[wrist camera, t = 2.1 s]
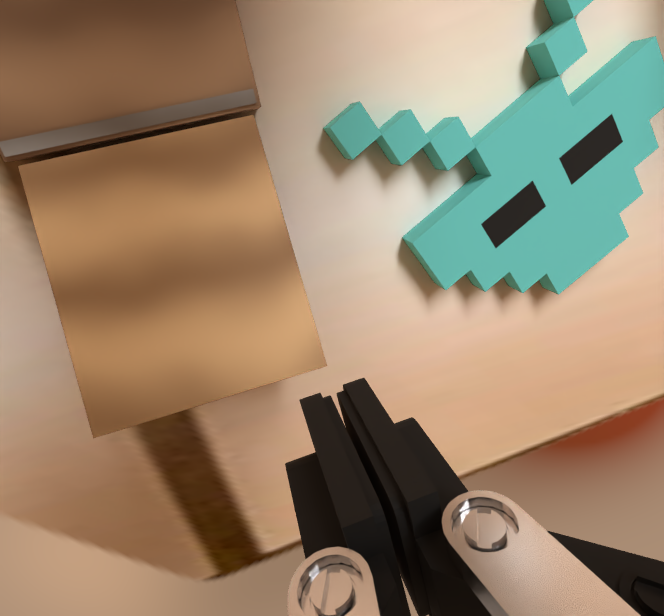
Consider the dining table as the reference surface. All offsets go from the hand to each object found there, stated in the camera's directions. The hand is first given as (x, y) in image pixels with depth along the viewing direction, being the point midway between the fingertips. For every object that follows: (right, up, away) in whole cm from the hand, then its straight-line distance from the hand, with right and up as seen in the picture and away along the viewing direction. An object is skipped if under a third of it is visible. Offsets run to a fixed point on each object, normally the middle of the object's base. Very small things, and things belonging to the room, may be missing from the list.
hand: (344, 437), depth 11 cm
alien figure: (+13, +14, +20) cm, 28 cm away
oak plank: (-9, +5, +14) cm, 17 cm away
